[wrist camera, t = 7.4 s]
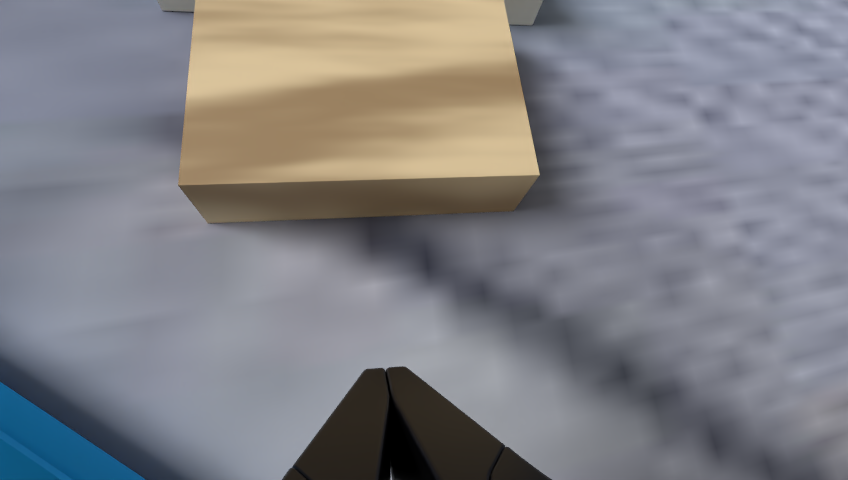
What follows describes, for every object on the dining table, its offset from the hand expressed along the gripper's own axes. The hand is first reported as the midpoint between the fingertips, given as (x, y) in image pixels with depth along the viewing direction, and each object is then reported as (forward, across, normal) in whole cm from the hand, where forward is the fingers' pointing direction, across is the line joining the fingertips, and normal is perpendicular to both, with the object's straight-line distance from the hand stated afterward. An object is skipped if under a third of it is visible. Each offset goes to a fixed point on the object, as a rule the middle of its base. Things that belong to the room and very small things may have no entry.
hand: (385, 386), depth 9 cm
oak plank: (+12, 0, 0) cm, 12 cm away
